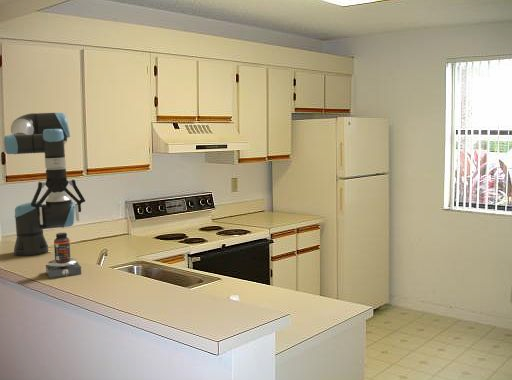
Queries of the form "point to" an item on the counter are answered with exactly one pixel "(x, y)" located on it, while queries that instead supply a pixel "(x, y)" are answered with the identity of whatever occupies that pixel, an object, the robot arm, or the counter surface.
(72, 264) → the kitchen scale
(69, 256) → the supplement bottle
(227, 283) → the counter surface
